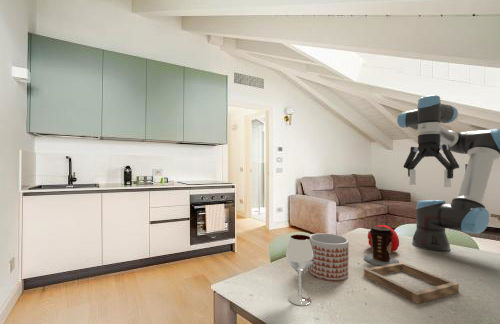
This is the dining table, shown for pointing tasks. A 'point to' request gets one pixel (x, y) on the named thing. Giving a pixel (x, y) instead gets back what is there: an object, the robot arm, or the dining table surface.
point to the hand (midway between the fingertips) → (428, 185)
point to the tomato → (394, 239)
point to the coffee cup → (381, 243)
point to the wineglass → (300, 263)
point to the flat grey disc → (370, 259)
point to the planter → (329, 257)
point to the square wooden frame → (418, 297)
